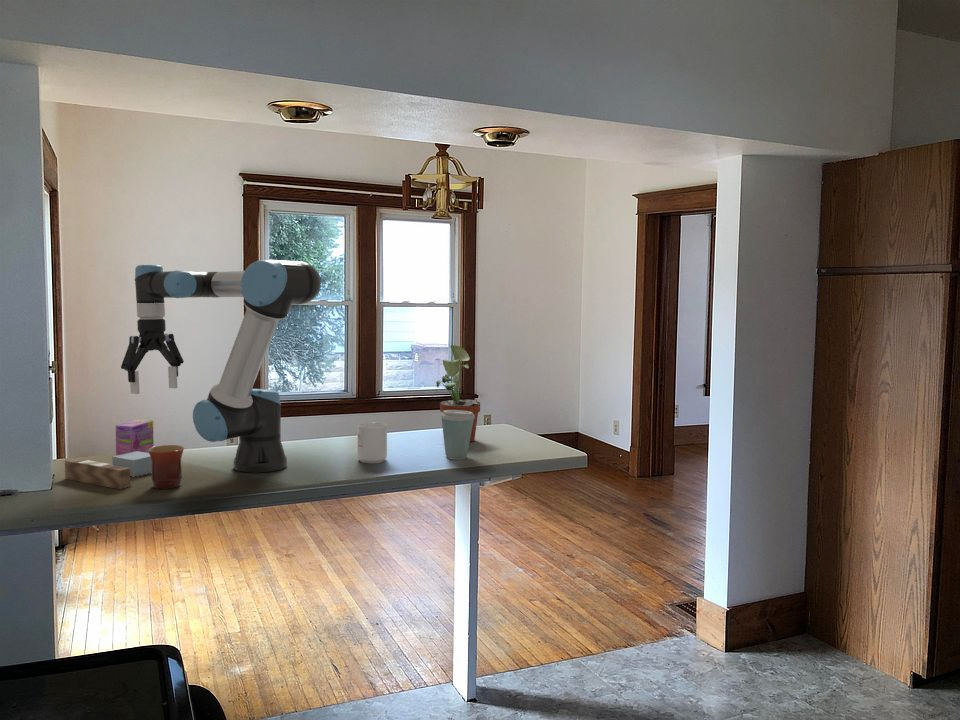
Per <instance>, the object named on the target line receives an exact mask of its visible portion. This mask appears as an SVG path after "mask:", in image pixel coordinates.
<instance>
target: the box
mask: <svg viewBox="0 0 960 720" xmlns="http://www.w3.org/2000/svg"><path fill="white" fill-rule="evenodd" d="M152 447H155V446H154V420H151V419H134V420H131V421H128V422H127V421H126V422H123V423H120V424H117V425H115V456H117V455H121V454H126V453H131V452H135V451H139V452H145V453H149V452H148V449H150V448H152Z"/></svg>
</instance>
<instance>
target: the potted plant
mask: <svg viewBox="0 0 960 720" xmlns="http://www.w3.org/2000/svg"><path fill="white" fill-rule="evenodd" d="M450 349H451V351H452V354H453V356H454V357H453V358H454V360H449V359H448V360H447V359H443V360H442V364H443V367H444V371H445V372H446V373H445V375H443V376H442V377H441V380H439V379H438V380H437V381H436V382H435V384H436V387H437V388H438V389H439V386H440V384H442V385H443V387H444V388H445V389H446V390H447V391H448V393H449V394H450V396H451V400H449V399H448V400H443V401H440V402H439V408H440V409H439V411H440V412H441V413H443V411H444V410H461V411H469V412H472V413H473V414H474V416H475V418H474V420H473V426H472V431H471V437H470V442H469V443H471V442H475V440H476V430H477V424H478V418H479V413H480V412H481V402H480V401H477V400H474V399H460V391H459V389H460V388H459V387H460V380H461V375H462V369H463V367H464V368H465V369H469V368H470V366H469V362H468V361H470V359H471V357H470V355H469V354H468V352H467V350H465V349H464V348H463V347H461V346H459V345H456V344H455V345H452V344H451V345H450ZM460 362H466V363H465V364H464V363H460ZM450 377H452V378H450ZM451 382H452V383H451Z"/></svg>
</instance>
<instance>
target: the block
mask: <svg viewBox="0 0 960 720" xmlns="http://www.w3.org/2000/svg"><path fill="white" fill-rule="evenodd" d="M112 465H115V466H121V467H126V468H130V476H133V477H132V478H136V477H135V476H137V477H140V476H139V475H141V476H143V475H142V474H145V475H147V474H146V473H149V474H152V473H151V472H152V462H151V457H150V454H149V453H145V452H139V451H135V452H131V453H126V454H121V455H117V456H116V455H113V456H112Z"/></svg>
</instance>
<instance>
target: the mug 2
mask: <svg viewBox="0 0 960 720" xmlns="http://www.w3.org/2000/svg"><path fill="white" fill-rule="evenodd" d="M387 432H388V425H387V423H385V422H384V423H383V422H376V421H374V422H373V421H372V422H371V421H370V422H369V421H368V422H363V423H359V424H357V459H358V460H359V461H360V462H361V463H364V464H380V463H383V462H385V460H386V459H387V457H388V455H387V454H388V452H387V451H388V449H387V448H388V433H387Z"/></svg>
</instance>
